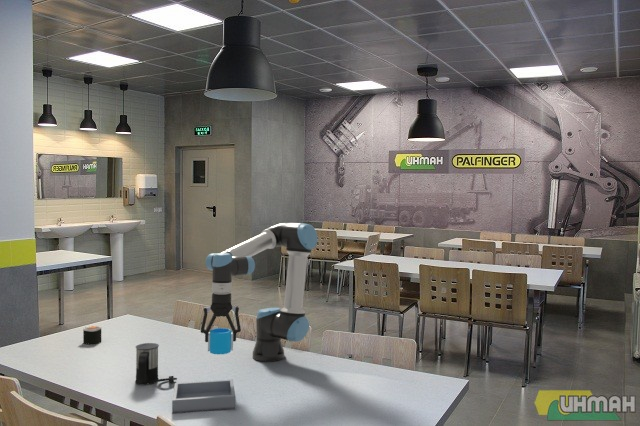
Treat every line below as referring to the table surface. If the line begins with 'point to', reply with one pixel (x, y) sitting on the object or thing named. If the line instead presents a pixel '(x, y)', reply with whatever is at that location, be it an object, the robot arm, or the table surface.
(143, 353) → the milk frother
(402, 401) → the table surface
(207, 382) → the box
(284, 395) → the table surface
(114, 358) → the table surface
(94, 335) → the sushi
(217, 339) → the mug
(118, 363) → the table surface
